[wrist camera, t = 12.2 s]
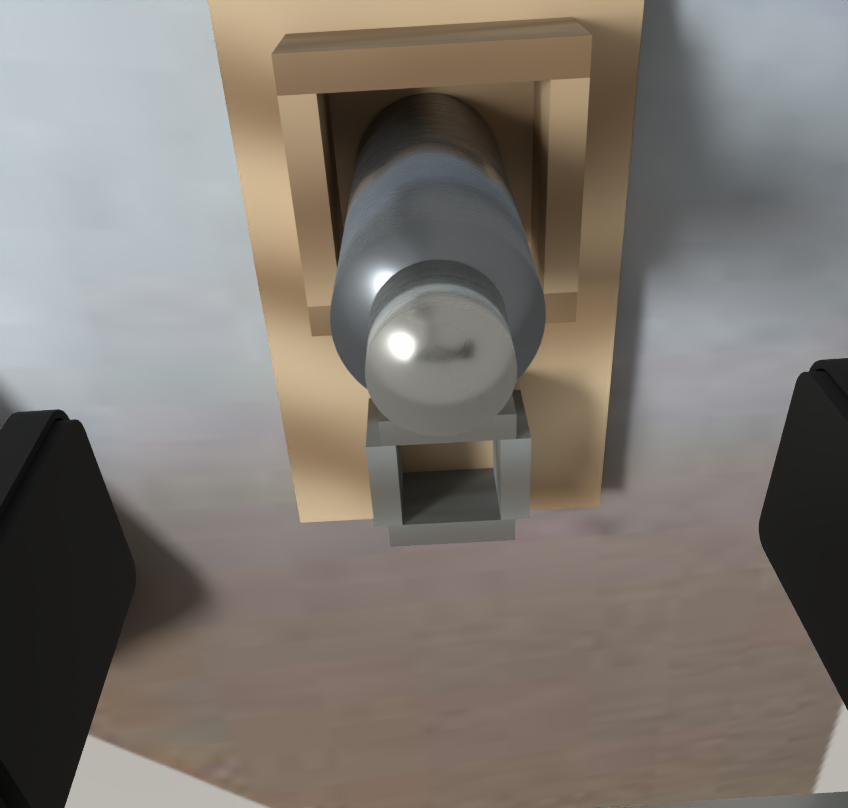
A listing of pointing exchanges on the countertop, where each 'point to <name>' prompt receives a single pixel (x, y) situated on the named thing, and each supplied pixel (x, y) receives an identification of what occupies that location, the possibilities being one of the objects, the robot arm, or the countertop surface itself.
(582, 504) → the holder
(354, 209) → the bottle
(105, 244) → the countertop surface
